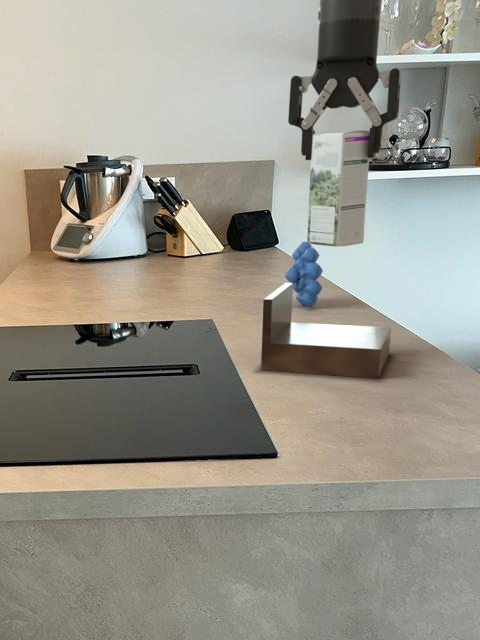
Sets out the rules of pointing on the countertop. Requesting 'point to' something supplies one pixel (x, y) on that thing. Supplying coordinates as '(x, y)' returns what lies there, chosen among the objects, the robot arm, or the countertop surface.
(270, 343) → the metal l-shaped bookend
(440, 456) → the countertop surface
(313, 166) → the syrup box
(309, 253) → the grapes
